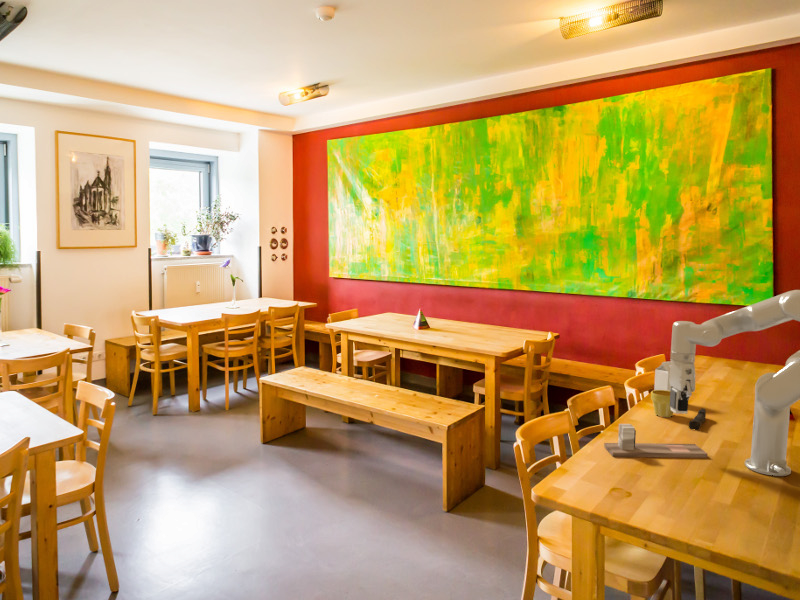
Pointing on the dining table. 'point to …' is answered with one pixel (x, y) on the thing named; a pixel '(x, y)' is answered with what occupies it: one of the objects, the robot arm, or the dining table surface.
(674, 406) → the block
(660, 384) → the milk carton
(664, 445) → the rail
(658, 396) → the plant pot
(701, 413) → the hand tool
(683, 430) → the dining table surface
